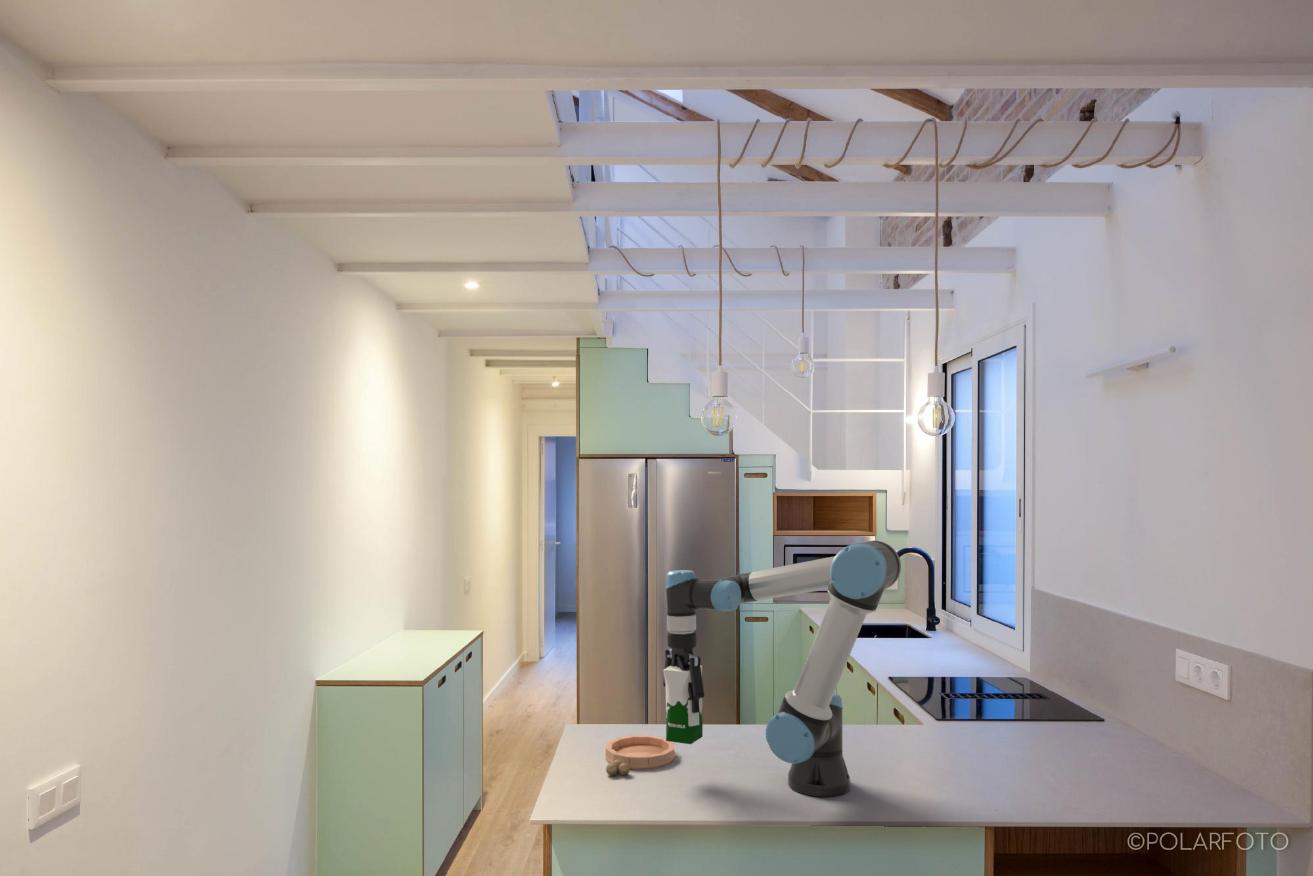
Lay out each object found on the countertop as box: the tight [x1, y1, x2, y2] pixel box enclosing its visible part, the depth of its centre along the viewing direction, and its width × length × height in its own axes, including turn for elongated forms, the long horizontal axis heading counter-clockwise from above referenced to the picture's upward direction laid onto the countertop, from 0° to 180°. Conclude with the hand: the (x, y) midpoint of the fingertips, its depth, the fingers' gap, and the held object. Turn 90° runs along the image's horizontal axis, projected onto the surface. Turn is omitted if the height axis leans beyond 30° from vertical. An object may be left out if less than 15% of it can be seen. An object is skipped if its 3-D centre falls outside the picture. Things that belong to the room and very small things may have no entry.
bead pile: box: [605, 760, 631, 777], centre depth 213 cm, size 6×6×3 cm
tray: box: [604, 734, 676, 770], centre depth 226 cm, size 19×19×3 cm
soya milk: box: [662, 665, 704, 745], centre depth 211 cm, size 9×9×20 cm
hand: (683, 720), depth 210 cm, fingers closed on soya milk, 9 cm apart
